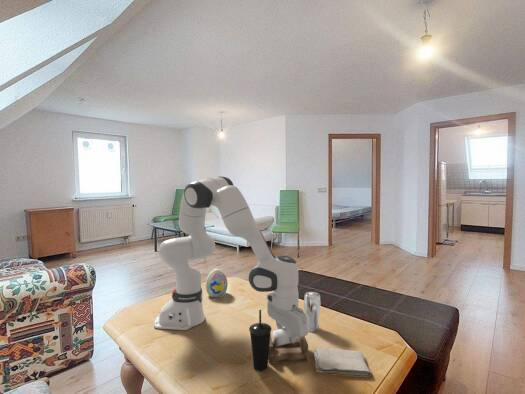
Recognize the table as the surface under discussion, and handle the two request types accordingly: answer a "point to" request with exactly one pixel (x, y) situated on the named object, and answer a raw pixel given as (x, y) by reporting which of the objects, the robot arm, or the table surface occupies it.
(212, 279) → the decorative egg
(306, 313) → the silver tumbler
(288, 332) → the roll
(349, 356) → the washcloth
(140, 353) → the table surface
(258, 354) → the drinking cup
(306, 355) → the cradle
